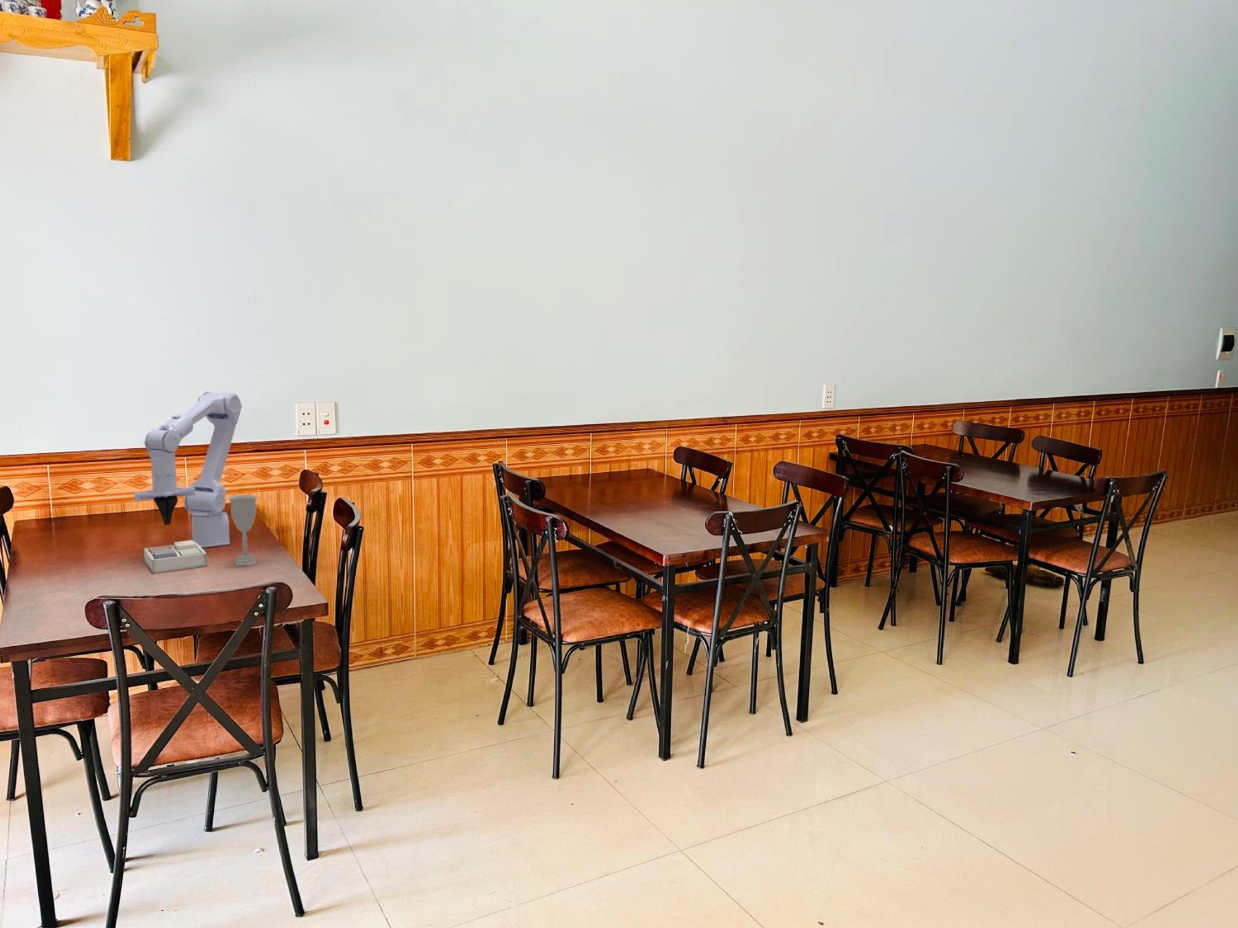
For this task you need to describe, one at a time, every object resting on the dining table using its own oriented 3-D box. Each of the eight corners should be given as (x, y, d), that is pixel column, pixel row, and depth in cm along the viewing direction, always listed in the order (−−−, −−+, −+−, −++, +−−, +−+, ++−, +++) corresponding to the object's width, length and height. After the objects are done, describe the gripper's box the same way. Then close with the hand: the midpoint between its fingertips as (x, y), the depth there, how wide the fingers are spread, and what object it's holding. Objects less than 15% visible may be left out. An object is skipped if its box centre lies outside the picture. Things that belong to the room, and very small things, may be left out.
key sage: (198, 557, 242) (197, 548, 241) (201, 561, 238) (201, 552, 238) (179, 559, 239) (178, 550, 239) (182, 564, 235) (182, 555, 235)
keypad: (196, 554, 248) (196, 541, 248) (207, 566, 238) (206, 553, 237) (144, 560, 241) (143, 548, 240) (153, 573, 231) (152, 560, 230)
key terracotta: (168, 554, 243) (168, 546, 243) (171, 559, 239) (171, 550, 239) (149, 557, 240) (149, 548, 240) (152, 561, 237) (152, 552, 236)
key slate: (172, 557, 238) (172, 548, 238) (176, 561, 234) (175, 552, 234) (153, 559, 235) (153, 550, 235) (156, 564, 232) (156, 554, 231)
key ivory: (193, 548, 246) (192, 539, 246) (196, 552, 243) (196, 543, 242) (174, 550, 244) (174, 542, 243) (177, 555, 240) (177, 546, 240)
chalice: (265, 561, 244) (263, 496, 241) (247, 567, 238) (244, 501, 235) (243, 557, 246) (240, 493, 243) (225, 564, 240) (222, 498, 237)
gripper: (136, 479, 232) (139, 530, 235) (196, 474, 241) (199, 523, 243) (131, 474, 238) (134, 524, 240) (190, 470, 246) (193, 518, 249)
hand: (167, 523), depth 242 cm, fingers closed
